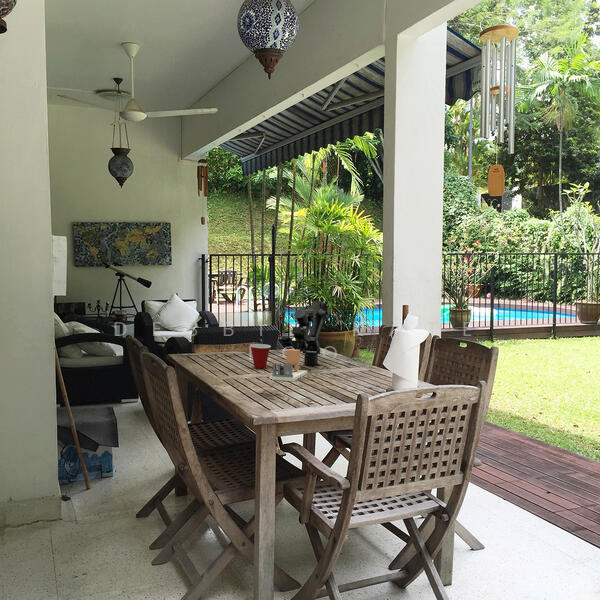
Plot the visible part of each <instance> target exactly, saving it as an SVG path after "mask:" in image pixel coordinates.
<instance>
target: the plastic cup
mask: <svg viewBox="0 0 600 600" xmlns="http://www.w3.org/2000/svg"><path fill="white" fill-rule="evenodd" d="M249 346H250V349H251V356H252V361H253V367H254V369H256V368H264V369H266V368H267V362H268V358H269V352H270V349H271V347H272V346H271V345H270V344H264V343H263V344H262V343H251V344H250V345H249Z"/></svg>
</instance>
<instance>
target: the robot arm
mask: <svg viewBox="0 0 600 600" xmlns="http://www.w3.org/2000/svg"><path fill="white" fill-rule="evenodd" d="M330 314H331V309H330V307H329V306H328V305H327V304H326V303H324V302H323V301H322V300H314V301H312V304H311V305H310V306H309V307H308V308H307V309H304V307H299V309H298V310H296V311H295V312H294V313H293V316H294V319H295V320H296V324H297V325H298V326H292V331H291V333H292V334H293V335H292V336H293V337H292V338H290V336H289V335H288V336H287V335H282V336H281V337H280V342H281V345H282V346H283V347H284V348H290V347H291V346H292V349H294V350H300V354H301V353H302V354H304V359H303V364H302V365H303V366H308V367H314V366H320V364H319V363H318V361H319V359H318V358H319V355H321V346H320V342H319V340H318V338H319V335H320V332H321V330H322V326H323V323H324V321H326V320H327V319H328V318H329V316H330ZM311 323H312V325H311Z"/></svg>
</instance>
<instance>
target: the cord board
mask: <svg viewBox="0 0 600 600" xmlns="http://www.w3.org/2000/svg"><path fill="white" fill-rule="evenodd" d="M307 373H308V370H302V369H299V370H298V371H295V369H292V375H293V377H292V378H290V377H274V376H272V374H271V375H269V380H270V379H272V380H271V381H283V380H284V381H283V382H294V381H296V380H299V379H300V377H301V378H303V377H304V376H307V375H308V374H309V373H308V374H307ZM276 374H278V372H276ZM298 378H299V379H298Z"/></svg>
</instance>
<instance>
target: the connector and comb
mask: <svg viewBox="0 0 600 600" xmlns="http://www.w3.org/2000/svg"><path fill="white" fill-rule="evenodd" d="M283 369H284V373H283V374H281V373H280V371H281V370H283ZM292 370H293V369H292V364H289V365H288V364H286V363H284V364H282V363H276V362H274V363H272V374H271V375H272V376H274V377H290V378H292V377H293V375H292ZM276 373H278V374H276Z"/></svg>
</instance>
